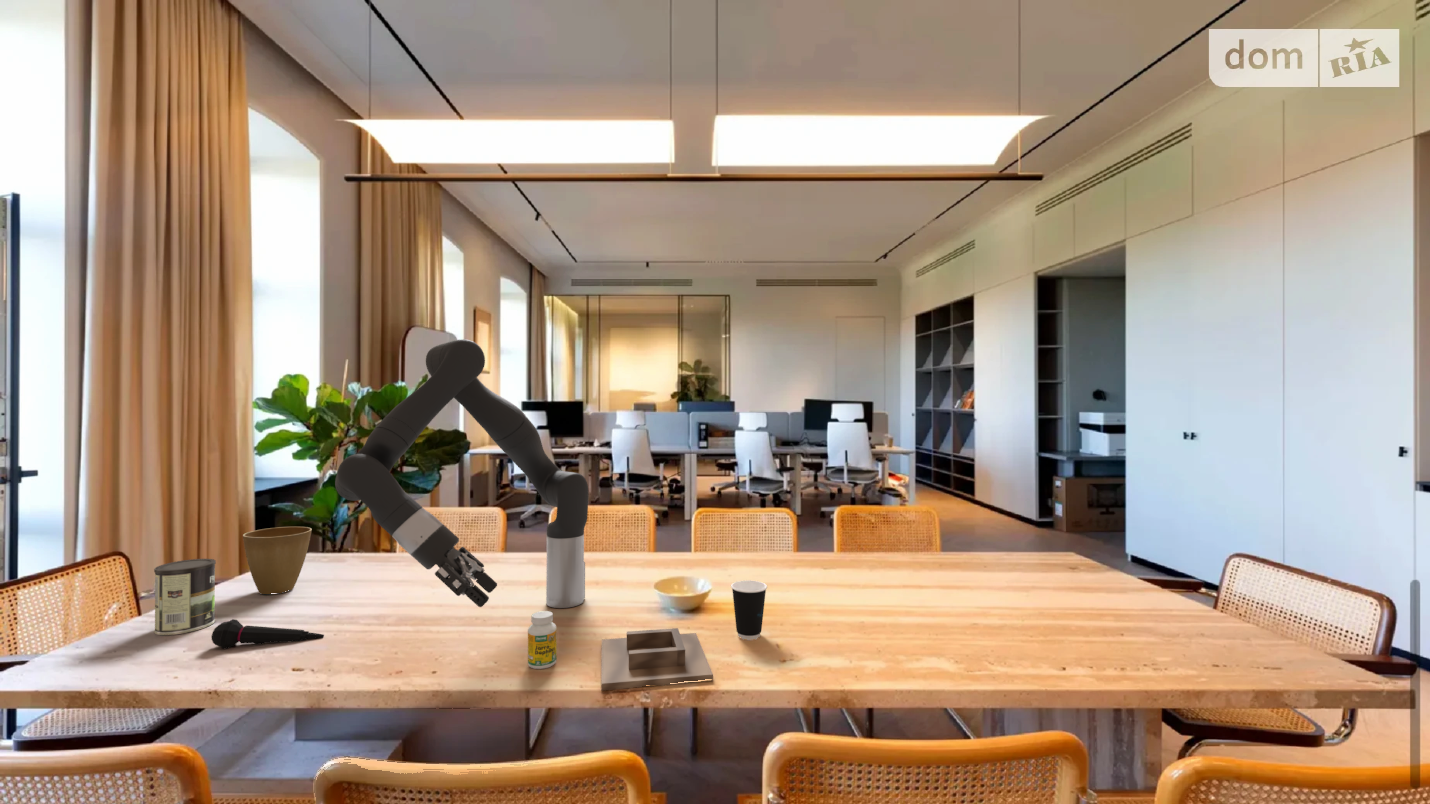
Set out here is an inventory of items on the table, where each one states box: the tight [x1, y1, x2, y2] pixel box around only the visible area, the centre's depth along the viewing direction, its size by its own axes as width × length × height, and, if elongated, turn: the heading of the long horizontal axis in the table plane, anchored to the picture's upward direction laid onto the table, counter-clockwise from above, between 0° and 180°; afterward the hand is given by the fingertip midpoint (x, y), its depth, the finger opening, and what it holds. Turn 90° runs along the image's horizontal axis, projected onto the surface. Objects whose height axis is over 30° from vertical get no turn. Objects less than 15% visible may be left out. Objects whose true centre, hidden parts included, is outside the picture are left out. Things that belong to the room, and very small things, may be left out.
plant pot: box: [242, 526, 312, 595], centre depth 159 cm, size 15×15×16 cm
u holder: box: [600, 627, 714, 691], centre depth 115 cm, size 20×20×4 cm
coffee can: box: [153, 558, 217, 636], centre depth 133 cm, size 10×10×14 cm
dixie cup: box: [730, 579, 768, 641], centre depth 129 cm, size 8×8×11 cm
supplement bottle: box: [527, 610, 558, 670], centre depth 114 cm, size 5×5×10 cm
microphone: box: [211, 618, 325, 650], centre depth 124 cm, size 6×6×20 cm
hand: (489, 595), depth 113 cm, fingers open, 8 cm apart
